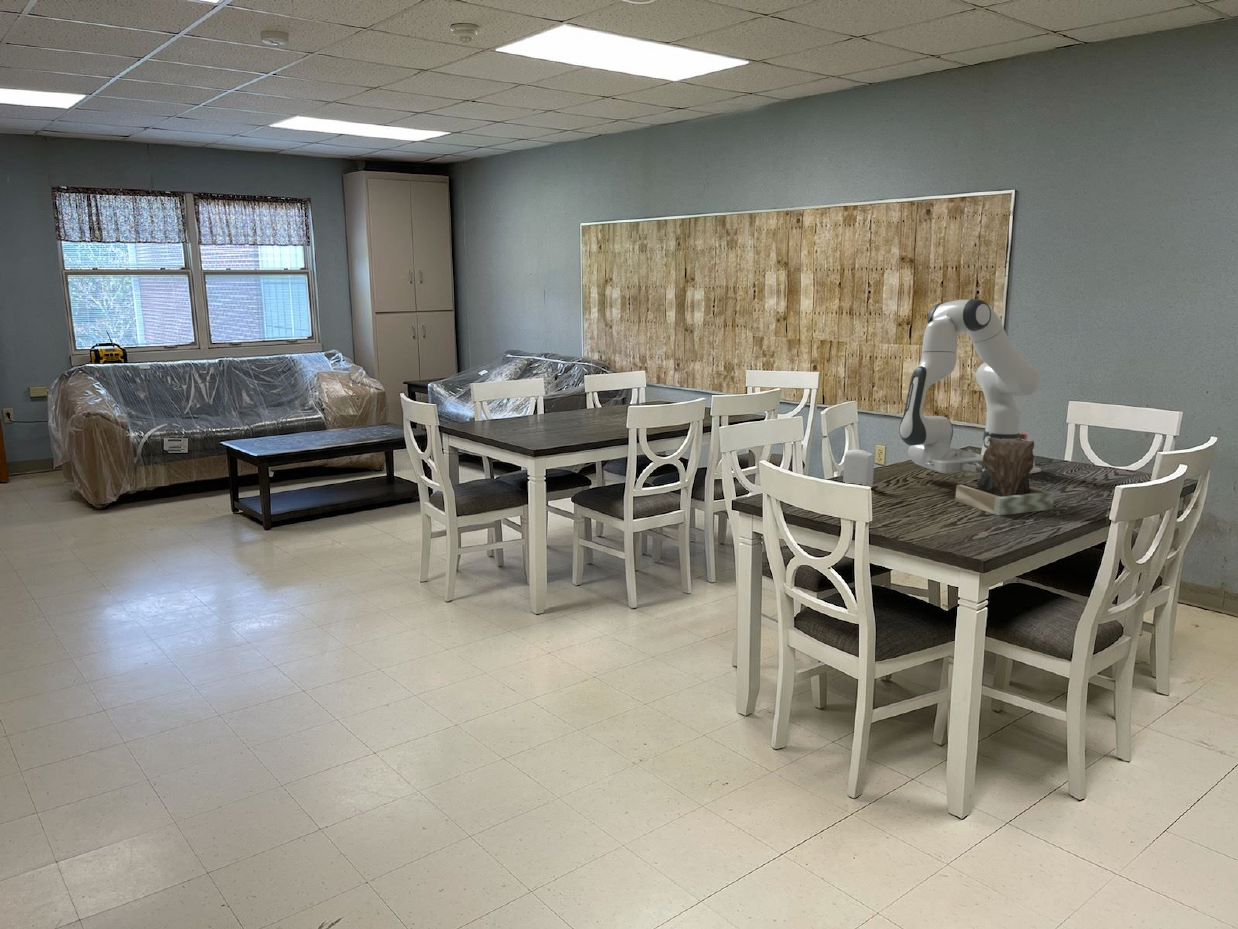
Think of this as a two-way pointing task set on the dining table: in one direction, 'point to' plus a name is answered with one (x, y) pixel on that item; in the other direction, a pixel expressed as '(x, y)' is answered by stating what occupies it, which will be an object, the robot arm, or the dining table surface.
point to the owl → (1007, 467)
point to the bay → (1005, 500)
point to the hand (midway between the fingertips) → (979, 468)
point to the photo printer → (858, 467)
